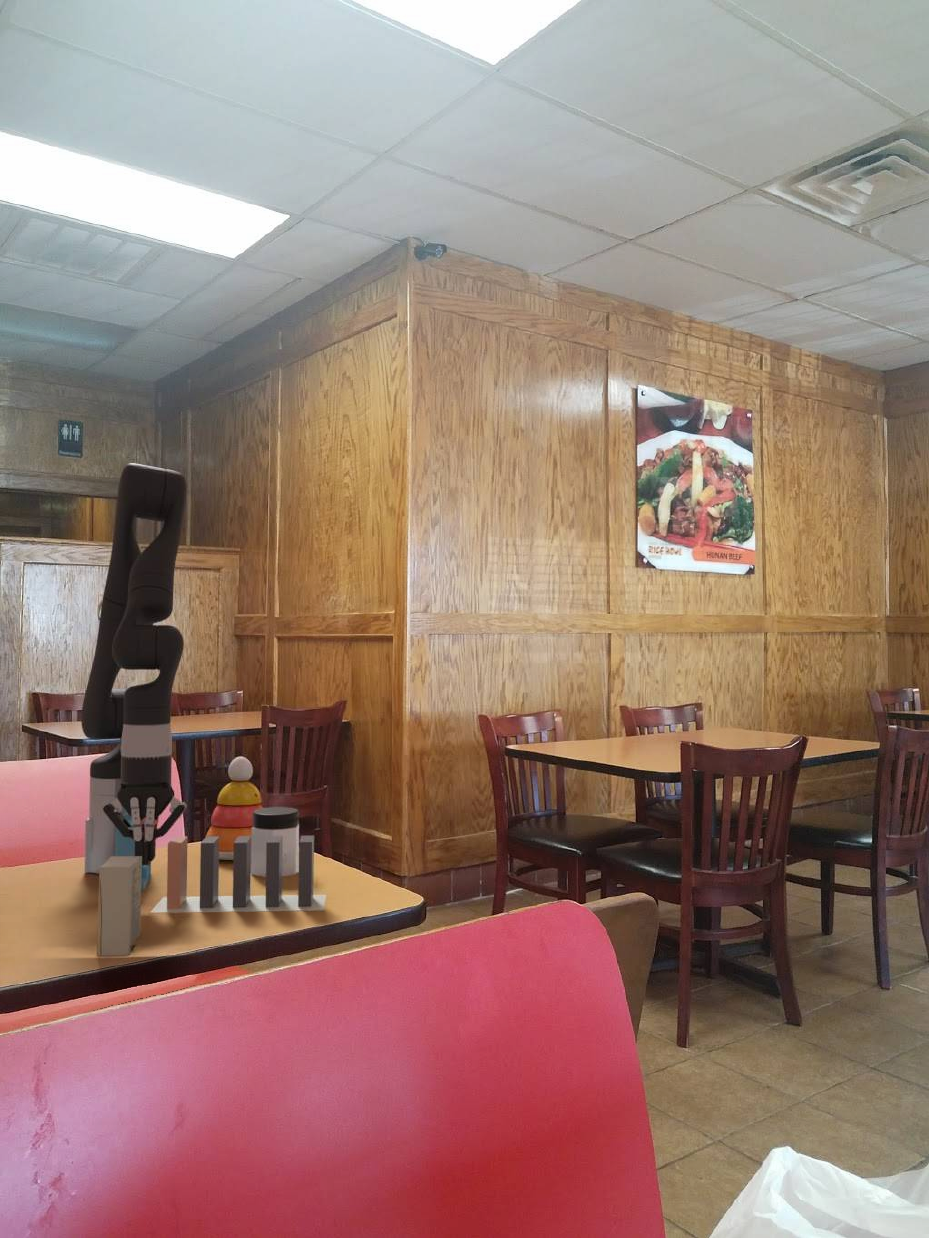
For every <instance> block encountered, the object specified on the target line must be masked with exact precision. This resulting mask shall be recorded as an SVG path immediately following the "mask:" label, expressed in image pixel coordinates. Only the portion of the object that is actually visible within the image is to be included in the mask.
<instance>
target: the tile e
mask: <svg viewBox="0 0 929 1238" xmlns="http://www.w3.org/2000/svg"><path fill="white" fill-rule="evenodd" d="M314 861H315V835H301V836H300V837H299V860H298V882H297V883H298V885H297V886H298V892H297V893H298V894H297V895H298V907H311V905H312V901H313V895H314V873H315V871H314V869H315V867H314V866H315V862H314Z"/></svg>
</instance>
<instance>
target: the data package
mask: <svg viewBox="0 0 929 1238" xmlns="http://www.w3.org/2000/svg"><path fill="white" fill-rule="evenodd" d="M124 817H125V818H126V819H127V821H128V822H129V823H130V824H131V826H132V817H131V816H130V815H124ZM145 824H146V818H145ZM132 827H133V826H132ZM145 831H146V825H145ZM115 856H135V841H134V839H132V838H129V837H124V836H123V835H122V834H121V833H120V831H119V830H118V829H117V828H116V850H115ZM151 874H152V862H151V863H150V864H149V865H142V877H141V892H144V891H145V889H146V886H147V884H148V882H149V880H150V877H151Z"/></svg>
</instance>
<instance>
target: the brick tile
mask: <svg viewBox="0 0 929 1238" xmlns="http://www.w3.org/2000/svg"><path fill="white" fill-rule="evenodd" d="M166 872H167V873H166V874H167V875H166V876H167V878H166V880H167V881H166V897H167V909H180V908H181V907H182V905H183V904H184V903H185V901H186V900H187V897H188V895H187V890H188V889H187V888H188V836H174V837H173V838H172V839H170V841H169V842H168V843H167V871H166Z"/></svg>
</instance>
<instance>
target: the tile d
mask: <svg viewBox="0 0 929 1238" xmlns="http://www.w3.org/2000/svg"><path fill="white" fill-rule="evenodd" d="M282 849H283V836H270V837H269V839H268V841H267V842H266V877H265V895H266V907H279V905H280V902H281V899H282V895H283V876H282Z"/></svg>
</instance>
